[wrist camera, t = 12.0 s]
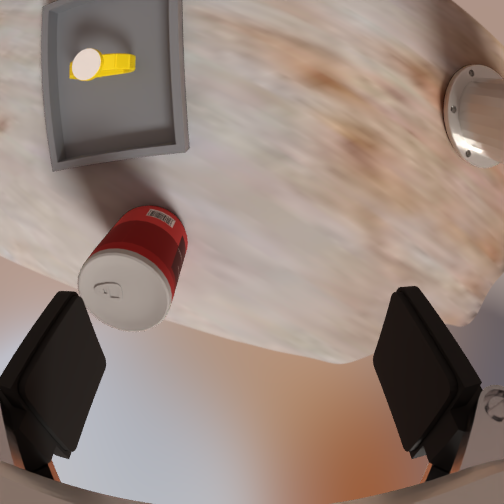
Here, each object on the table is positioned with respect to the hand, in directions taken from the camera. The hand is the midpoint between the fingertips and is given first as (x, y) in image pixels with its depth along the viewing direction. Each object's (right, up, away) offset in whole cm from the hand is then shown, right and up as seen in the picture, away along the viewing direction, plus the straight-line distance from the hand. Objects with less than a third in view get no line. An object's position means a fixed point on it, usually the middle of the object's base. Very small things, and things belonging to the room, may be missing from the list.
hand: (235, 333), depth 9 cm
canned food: (-10, +4, +24) cm, 26 cm away
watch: (-13, +20, +15) cm, 28 cm away
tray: (-13, +20, +16) cm, 28 cm away
